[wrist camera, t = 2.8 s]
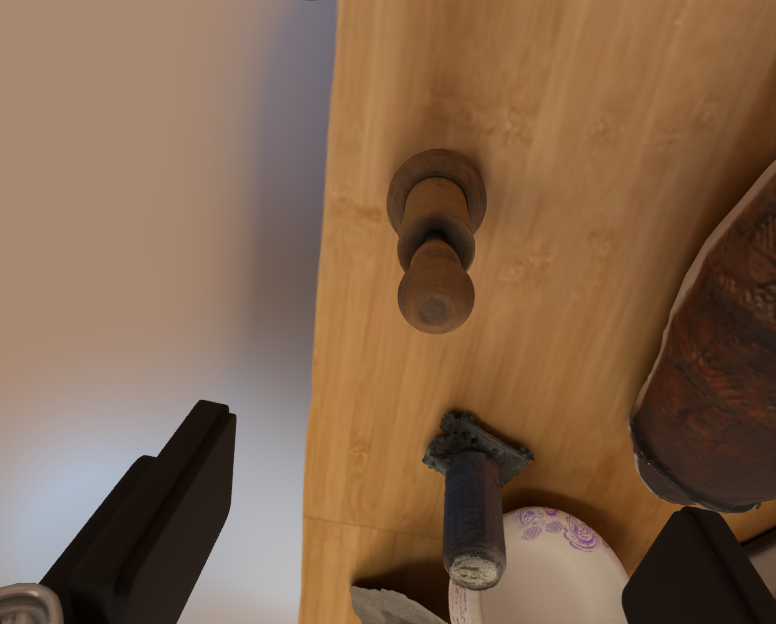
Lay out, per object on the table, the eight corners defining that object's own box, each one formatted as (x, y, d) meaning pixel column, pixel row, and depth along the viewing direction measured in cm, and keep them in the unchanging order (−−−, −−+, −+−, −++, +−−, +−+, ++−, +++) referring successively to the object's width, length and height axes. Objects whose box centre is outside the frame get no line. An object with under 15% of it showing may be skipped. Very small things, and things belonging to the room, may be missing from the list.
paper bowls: (561, 508, 51) (604, 494, 44) (616, 688, 44) (678, 703, 37) (422, 529, 47) (447, 518, 40) (457, 730, 40) (495, 756, 33)
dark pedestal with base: (413, 463, 45) (405, 587, 34) (449, 402, 42) (453, 518, 31) (501, 497, 46) (521, 627, 35) (544, 439, 42) (580, 565, 32)
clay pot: (597, 566, 32) (985, 250, 17) (542, 389, 44) (739, 110, 28) (788, 595, 34) (1284, 341, 19) (687, 419, 46) (940, 176, 31)
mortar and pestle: (414, 256, 36) (395, 405, 20) (372, 177, 34) (314, 274, 18) (498, 217, 34) (552, 347, 18) (460, 130, 32) (484, 192, 16)
